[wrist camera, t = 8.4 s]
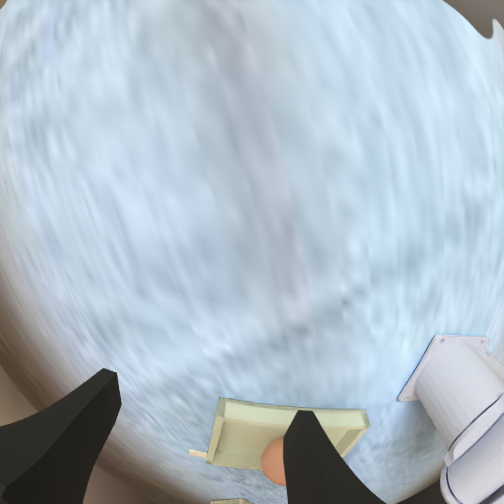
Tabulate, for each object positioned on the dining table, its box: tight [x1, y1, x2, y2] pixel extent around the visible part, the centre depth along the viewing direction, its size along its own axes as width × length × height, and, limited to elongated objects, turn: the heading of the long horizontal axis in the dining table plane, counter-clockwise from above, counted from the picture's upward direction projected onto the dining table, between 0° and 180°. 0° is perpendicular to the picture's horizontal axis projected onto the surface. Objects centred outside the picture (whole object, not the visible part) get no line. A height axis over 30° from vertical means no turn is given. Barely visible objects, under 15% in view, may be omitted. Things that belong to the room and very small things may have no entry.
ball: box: [261, 437, 286, 486], centre depth 20 cm, size 6×6×6 cm
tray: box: [206, 397, 370, 470], centre depth 22 cm, size 14×10×2 cm
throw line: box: [189, 449, 207, 458], centre depth 24 cm, size 18×1×1 cm, turn 78°
